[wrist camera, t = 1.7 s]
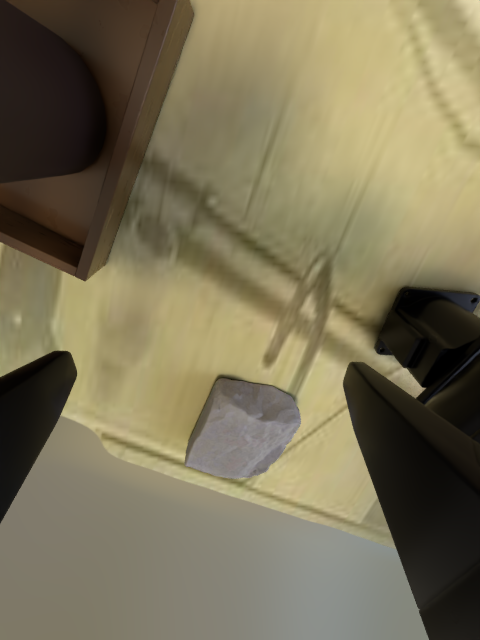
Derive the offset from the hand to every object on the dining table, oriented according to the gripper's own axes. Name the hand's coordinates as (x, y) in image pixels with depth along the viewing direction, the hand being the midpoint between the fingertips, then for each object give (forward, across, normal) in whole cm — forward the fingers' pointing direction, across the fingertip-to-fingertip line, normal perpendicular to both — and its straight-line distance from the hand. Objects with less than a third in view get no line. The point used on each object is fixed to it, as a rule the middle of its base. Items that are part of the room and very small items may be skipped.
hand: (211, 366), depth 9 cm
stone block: (+13, -2, +19) cm, 23 cm away
